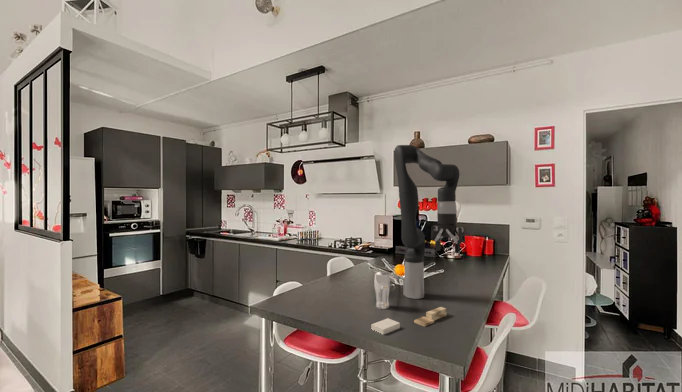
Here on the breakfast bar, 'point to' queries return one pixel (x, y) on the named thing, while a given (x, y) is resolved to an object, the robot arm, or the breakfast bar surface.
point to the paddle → (431, 316)
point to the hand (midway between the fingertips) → (447, 251)
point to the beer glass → (382, 289)
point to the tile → (385, 326)
